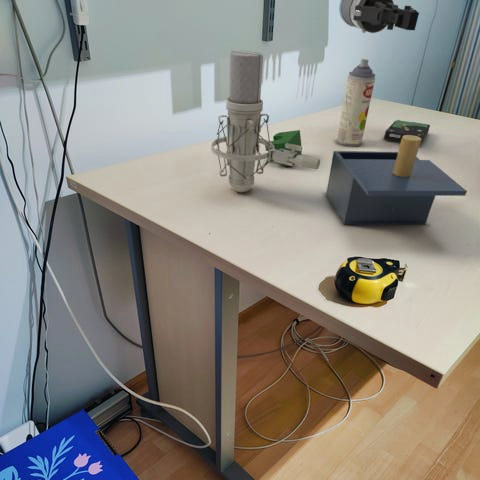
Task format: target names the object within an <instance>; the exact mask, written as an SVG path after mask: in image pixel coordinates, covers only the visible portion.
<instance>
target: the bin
mask: <svg viewBox="0 0 480 480" xmlns="http://www.w3.org/2000/svg"><path fill="white" fill-rule="evenodd" d="M397 155H398V151H368V150H367V151H364V150H361V151H360V150H357V151H356V150H354V151H353V150H333V152H332V159H331V164H330V169H329V174H328V175H329V176H328V181H327V187H326V192H325V195H326V196H327V198H328V200H329V202H330V203H331V205H332V207H333V208H334V211H335V212H336V213H337V216H338V217H339V219H340V220H341V222H342V224H343V225H344V226H345V225H347V226H350V225H351V226H353V225H356V226H357V225H359V226H361V225H362V226H363V225H364V226H367V225H372V226H374V225H376V226H377V225H378V226H379V225H380V226H381V225H393V226H395V225H396V226H397V225H426V224H427V221H428V219H429V215H430V212H431V210H432V207H433V204H434V201H435V198H436V196H400V195H367V194H366V193H365V191H364V190H363V189H362V187H361V186H360V185H359V183H358V182H357V181H356V180H355V178H354V177H353V176H352V174H351V173H350V172H349V170H348V169H347V168H346V166H345V165H344V164H343V162H344V159H376V160H396V158H397ZM415 160H421V159H420V158H419V157H417V156H416V159H415Z"/></svg>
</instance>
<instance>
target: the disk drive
mask: <svg viewBox="0 0 480 480" xmlns="http://www.w3.org/2000/svg"><path fill="white" fill-rule="evenodd" d="M430 127H431V124H428V123H423V122H422V123H421V122H416V121H407V120H400V119H397V120H394V121H393V123H391V125H390V126H389V127H388V128H387V129H386V130H385V133H384V136H383V140H385V141H389V142H394V143H398V144H401V140H402V137H403V136H404V135H413V136H417V137H420V138H421V142H420V146H421V145H422V143H423V142H424V140H425V139H426V137H427V135H428V133H429V131H430Z"/></svg>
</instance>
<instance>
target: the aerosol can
mask: <svg viewBox="0 0 480 480" xmlns="http://www.w3.org/2000/svg"><path fill="white" fill-rule="evenodd" d="M346 79H347V80H346V84H345V91H344V97H343V101H342V107H341V114H340V120H339V125H338V126H339V127H338V131H337V137H336V143H337V144H338V145H339V146H343V147H350V148H355V147H360V146H361V145H362V142H363V138H364V134H365V129H366V123H367V118H368V115H369V109H370V104H371V100H372V95H373V91H374V85H375V83H376V82H375V81H376V74H375V73H374V72H373V69H372V68H371V67H370V65H369V59H366V58H362V59H361V60H360V63H359V64H358V65H357V66H356V67H354V68H353V70H352V71H349V72H348V76H347V78H346Z"/></svg>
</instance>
